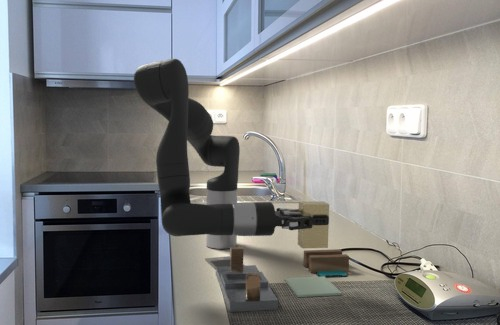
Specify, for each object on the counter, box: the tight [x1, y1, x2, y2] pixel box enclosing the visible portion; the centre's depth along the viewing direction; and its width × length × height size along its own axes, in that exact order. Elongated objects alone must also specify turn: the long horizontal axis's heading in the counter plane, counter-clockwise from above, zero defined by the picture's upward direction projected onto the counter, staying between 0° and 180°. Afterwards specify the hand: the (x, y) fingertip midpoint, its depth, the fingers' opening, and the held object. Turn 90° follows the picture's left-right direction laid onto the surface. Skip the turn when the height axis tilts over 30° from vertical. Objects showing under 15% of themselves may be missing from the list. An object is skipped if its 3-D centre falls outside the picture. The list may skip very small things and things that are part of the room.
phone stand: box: [302, 248, 350, 274], centre depth 136 cm, size 7×10×4 cm
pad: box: [284, 276, 342, 298], centre depth 121 cm, size 12×10×1 cm
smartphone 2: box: [315, 271, 348, 278], centre depth 136 cm, size 7×1×15 cm
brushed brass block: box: [297, 201, 330, 249], centre depth 120 cm, size 4×6×10 cm, turn 100°
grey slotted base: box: [215, 246, 279, 313], centre depth 118 cm, size 25×10×7 cm, turn 10°
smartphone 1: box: [204, 255, 246, 271], centre depth 138 cm, size 15×8×1 cm, turn 21°
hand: (324, 218), depth 120 cm, fingers closed on brushed brass block, 4 cm apart
